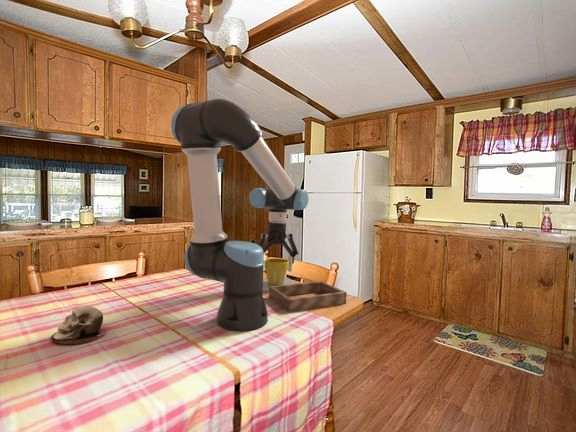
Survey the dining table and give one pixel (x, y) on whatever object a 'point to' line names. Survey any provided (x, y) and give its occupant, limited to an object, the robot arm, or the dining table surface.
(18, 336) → the dining table surface
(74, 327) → the skull
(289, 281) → the slate tray
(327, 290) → the walnut crate
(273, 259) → the plant pot
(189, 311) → the dining table surface
